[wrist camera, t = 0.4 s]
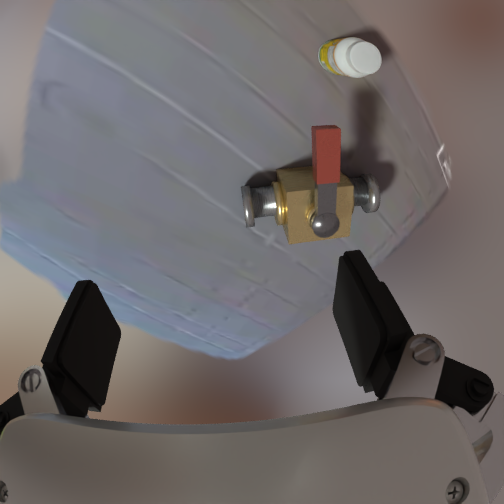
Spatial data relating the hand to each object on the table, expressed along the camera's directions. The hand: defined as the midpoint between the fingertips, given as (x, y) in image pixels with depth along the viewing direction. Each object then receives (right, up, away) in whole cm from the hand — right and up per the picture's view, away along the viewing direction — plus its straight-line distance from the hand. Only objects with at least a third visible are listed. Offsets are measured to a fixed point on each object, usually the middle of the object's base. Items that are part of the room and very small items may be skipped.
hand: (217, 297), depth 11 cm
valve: (+10, +11, +34) cm, 37 cm away
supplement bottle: (+13, +28, +21) cm, 38 cm away
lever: (+10, +10, +23) cm, 27 cm away
